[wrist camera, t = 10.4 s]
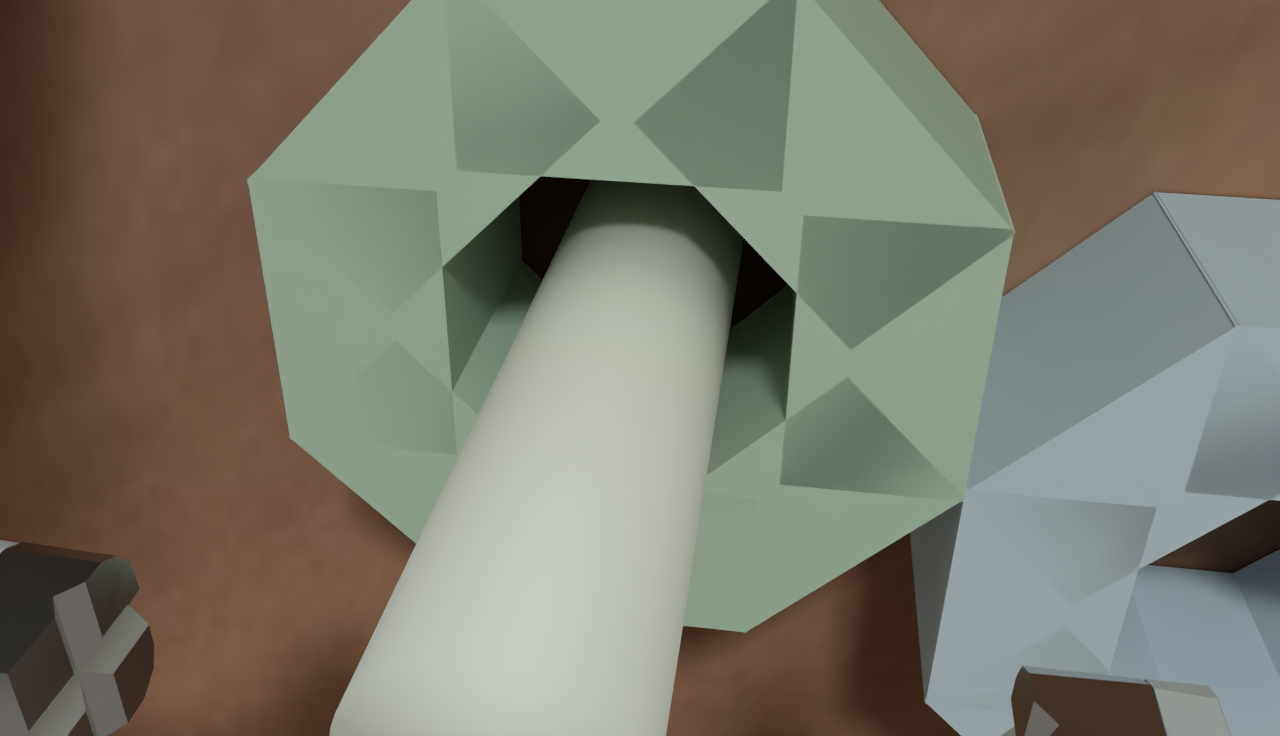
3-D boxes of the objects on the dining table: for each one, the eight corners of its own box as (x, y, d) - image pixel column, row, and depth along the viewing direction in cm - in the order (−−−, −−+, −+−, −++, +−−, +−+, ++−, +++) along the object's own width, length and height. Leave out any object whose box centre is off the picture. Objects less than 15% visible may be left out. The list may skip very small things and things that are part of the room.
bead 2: (1642, 220, 18) (1861, 370, 14) (1413, 698, 23) (1529, 903, 19) (964, 179, 19) (998, 306, 15) (890, 642, 24) (901, 825, 20)
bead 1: (1009, -83, 17) (1061, -11, 13) (917, 483, 22) (936, 653, 18) (340, -107, 18) (208, -49, 14) (399, 436, 23) (313, 587, 19)
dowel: (750, 144, 19) (658, 674, 9) (741, 297, 21) (652, 905, 10) (582, 133, 20) (307, 635, 9) (584, 285, 21) (348, 865, 11)
